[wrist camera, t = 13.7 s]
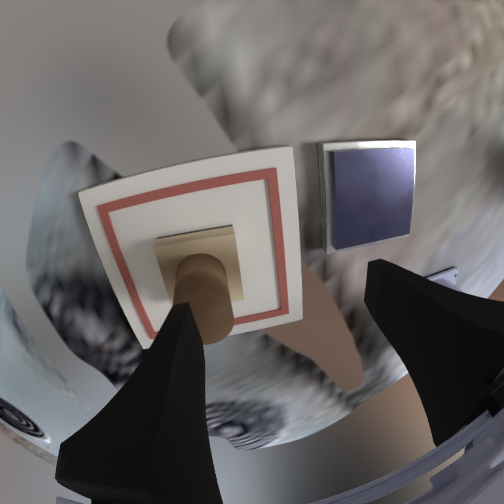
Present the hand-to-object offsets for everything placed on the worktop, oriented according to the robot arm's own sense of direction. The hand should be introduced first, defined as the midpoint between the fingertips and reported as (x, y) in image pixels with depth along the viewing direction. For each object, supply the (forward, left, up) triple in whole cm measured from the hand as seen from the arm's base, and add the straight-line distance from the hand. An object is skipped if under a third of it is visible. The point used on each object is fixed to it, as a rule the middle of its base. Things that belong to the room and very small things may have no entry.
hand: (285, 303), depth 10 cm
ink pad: (+1, -9, -9) cm, 13 cm away
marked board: (-2, +4, -9) cm, 10 cm away
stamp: (-2, +4, -8) cm, 10 cm away
